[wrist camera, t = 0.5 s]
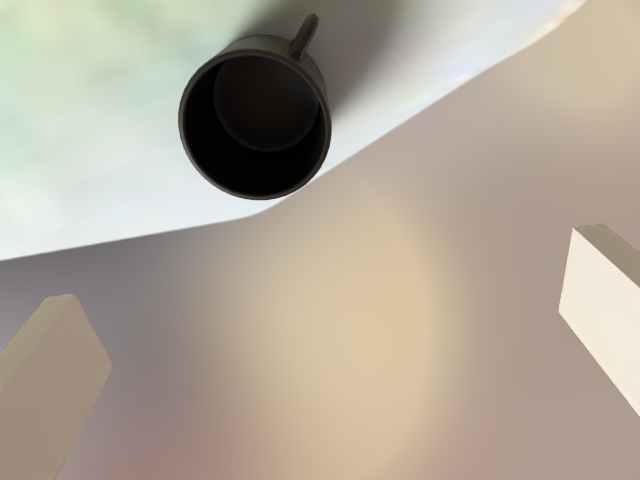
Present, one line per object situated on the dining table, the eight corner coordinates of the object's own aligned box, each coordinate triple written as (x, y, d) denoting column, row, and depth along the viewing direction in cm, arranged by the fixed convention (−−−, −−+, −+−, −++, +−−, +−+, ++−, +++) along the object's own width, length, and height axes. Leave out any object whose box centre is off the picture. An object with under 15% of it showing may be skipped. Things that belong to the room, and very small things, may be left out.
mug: (368, 48, 33) (387, 67, 25) (288, 176, 38) (284, 224, 30) (257, -29, 31) (239, -35, 23) (187, 119, 35) (153, 156, 28)
